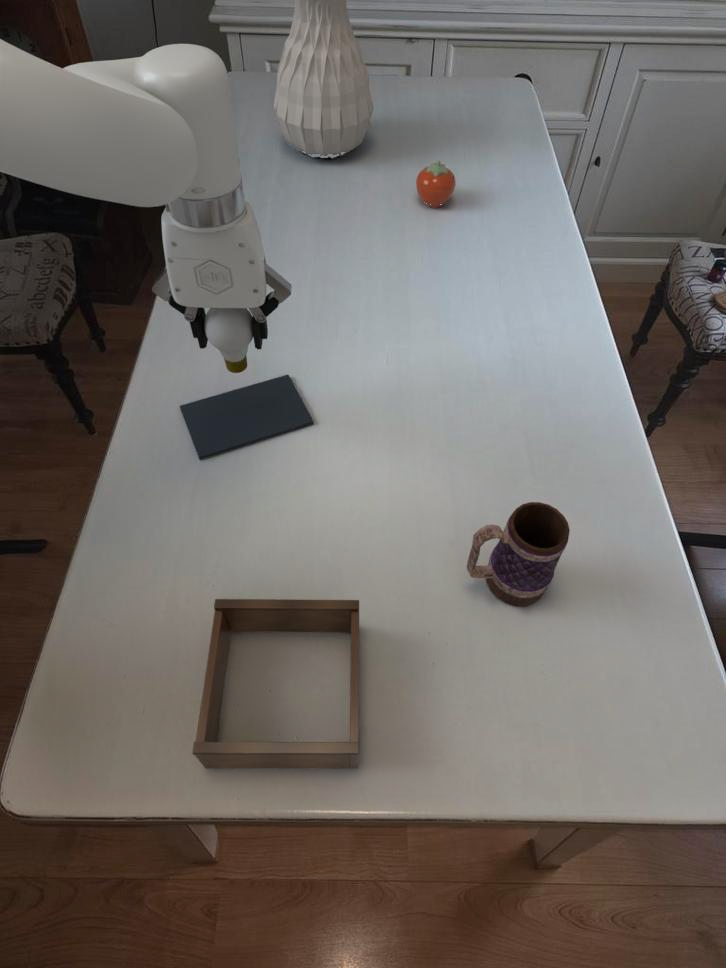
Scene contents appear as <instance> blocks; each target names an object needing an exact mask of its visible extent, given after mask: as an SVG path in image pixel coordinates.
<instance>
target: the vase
mask: <svg viewBox="0 0 726 968" xmlns="http://www.w3.org/2000/svg"><path fill="white" fill-rule="evenodd" d="M293 10H294V11H293V17H292V23H291V25H290V26H291V27H290V31H289V35H288V36H287V38H286V40H285V43H284V45H283V49H282V54H281V58H280V59H279V62H278V68H277V74H276V88H275V93H274V99H273V100H274V101H273V109H274V112H275V116H276V119H277V122H278V125H279V128H280V131H281V134H282V136H283V138H284V140H285V142H286V143H287V144H288V145H289V146H291V145H293V147H292V148H293V149H295V150H296V151H298V152H300V151H305V152H306V154H311V155H312V154H320V156H322V155H324V156H327V155H328V154H333V155H337V154H339V156H340V158H341V157H343V156H345V155H346V154H348V153H349V152H352V151H354V150H355V149H356V148H357V147H359V146H360V145H361V144H362V143H363V141H364V138H365V136H366V133H367V131H368V128H369V126H370V122H371V119H372V116H373V112H374V103H373V99H372V94H371V90H370V77H369V74H368V69H367V68H368V67H367V65H366V62H365V60H364V58H363V52H362V50H361V47H360V44H359V42H358V40H357V38H356V36H355V34H354V33H355V32H354V29H353V27H352V24H351V21H350V16H349V12H348V8H347V0H294V9H293ZM354 148H355V149H354ZM351 150H352V151H351ZM341 152H345V154H343V155H341Z"/></svg>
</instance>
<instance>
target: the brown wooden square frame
mask: <svg viewBox="0 0 726 968" xmlns="http://www.w3.org/2000/svg"><path fill="white" fill-rule="evenodd" d="M213 609H214V615H213V622H212V627H211V635H210V640H209V649H208V654H207V660H206V661H207V662H206V669H205V675H204V682H203V689H202V695H201V704H200V709H199V716H198V723H197V729H196V736H195V741H194V742H193V746H192V752H191V753H192V755H193V756H195V757H196V759H197V760H198V761H199V763H200V764H201V765H202V766H203V768H204V769H359V759H360V758H359V757H360V600H359V599H277V598H276V599H275V598H273V599H270V598H269V599H267V598H266V599H262V598H261V599H259V598H257V599H255V598H251V599H250V598H236V599H235V598H231V599H229V598H215V599H214V605H213ZM231 632H265V633H266V632H271V633H272V632H277V633H278V632H280V633H281V632H282V633H286V632H288V633H290V632H293V633H294V632H295V633H297V632H299V633H307V632H308V633H350V677H349V678H350V679H349V680H350V682H349V685H350V689H349V691H350V692H349V741H218V734H219V726H220V717H221V712H222V711H221V710H222V702H223V695H224V688H225V687H224V686H225V681H226V679H225V678H226V671H227V665H228V656H229V649H230V640H231Z"/></svg>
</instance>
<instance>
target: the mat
mask: <svg viewBox="0 0 726 968" xmlns="http://www.w3.org/2000/svg"><path fill="white" fill-rule="evenodd" d="M179 408H180V412H181V414H182V417H183V420H184V422H185V425H186V427H187V430H188V434H189V435H190V436H189V437H190V439H191V441H192V443H193V446H194V449H195V452H196V454H197V456H198V459H199V461H201V460H204V459H207V458H210V457H214V456H217V455H221V454H224V453H227V452H229V451H233V450H237V449H239V448H242V447H246V446H249V445H252V444H255V443H258V442H261V441H262V442H263V441H264V440H268V439H272V438H275V437H277V436H280V435H283V434H288V433H290V432H294V431H296V430H300V429H303V428H306V427H309V426H312V425H314V424H315V421H314V420H313V418H312V416H311V414H310V412H309V410H308V409H307V406H306V405H305V403H304V401H303V398H302V396H301V395H300V393H299V392H298V389H297V388H296V385H295V383H294V382H293V380H292V379H291V377H290V375H289V374H285V375H281V376H278V377H274V378H271V379H268V380H267V379H266V380H264V381H261V382H260V381H259V382H257V383H253V384H250V385H246V386H243V387H240V388H237V389H232V390H230V391H226V392H222V393H219V394H216V395H215V394H214V395H212V396H207V397H205V398H202V399H199V400H195V401H191V402H188V403H184V404H181V405H179Z"/></svg>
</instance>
